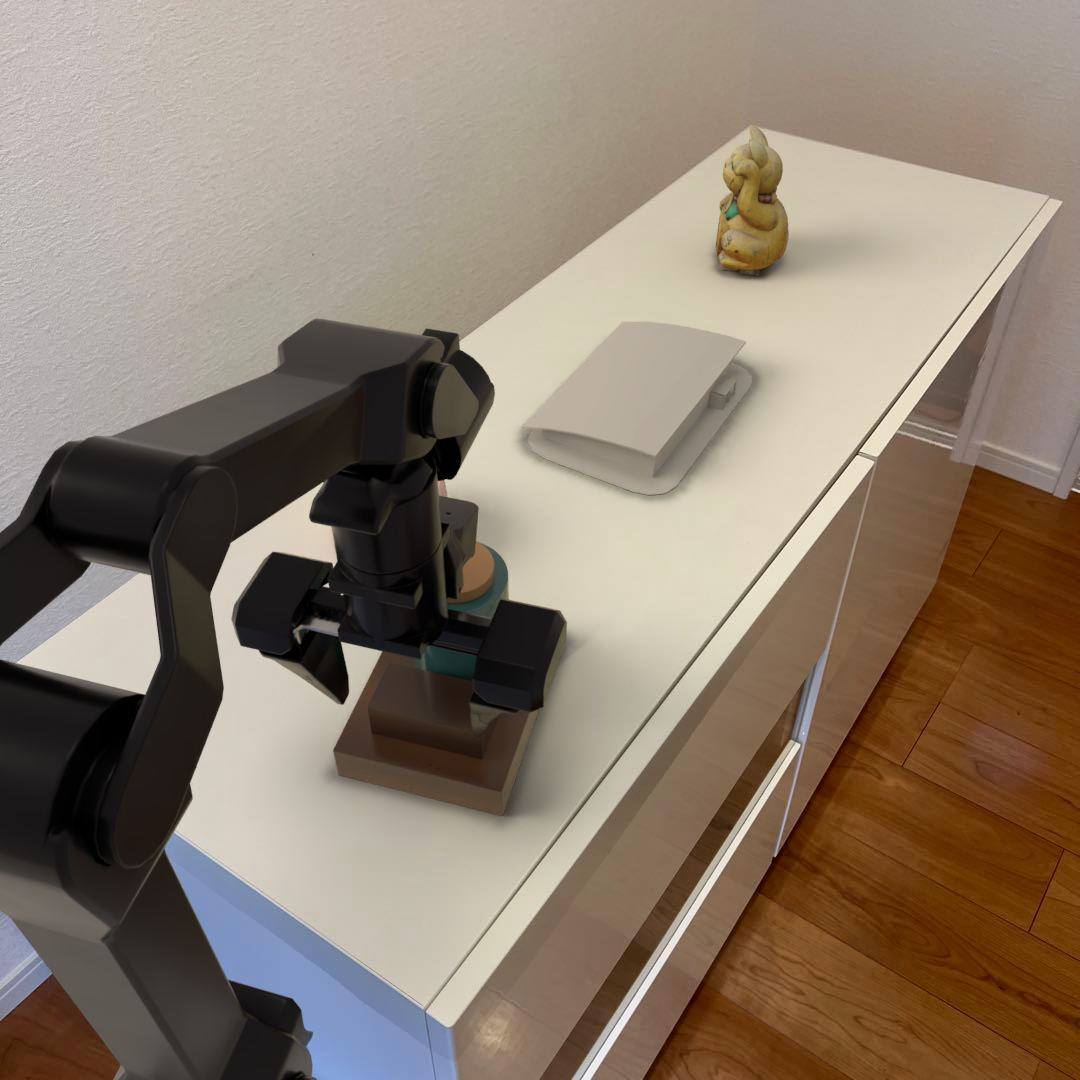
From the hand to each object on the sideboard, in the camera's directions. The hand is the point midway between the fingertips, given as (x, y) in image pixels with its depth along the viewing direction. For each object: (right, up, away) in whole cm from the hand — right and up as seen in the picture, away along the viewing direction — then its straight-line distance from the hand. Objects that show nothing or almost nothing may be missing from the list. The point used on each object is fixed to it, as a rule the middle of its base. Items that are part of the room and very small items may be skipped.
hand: (411, 714), depth 68 cm
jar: (+3, +6, +7) cm, 9 cm away
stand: (+2, -1, +11) cm, 11 cm away
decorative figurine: (+32, +43, +58) cm, 79 cm away
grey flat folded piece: (+18, +24, +37) cm, 48 cm away
